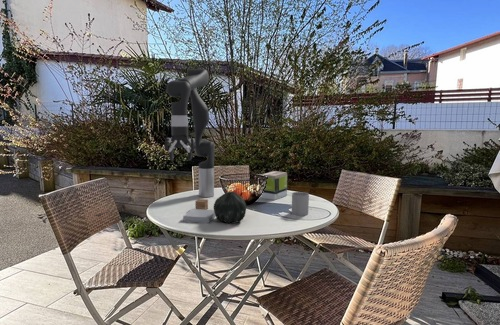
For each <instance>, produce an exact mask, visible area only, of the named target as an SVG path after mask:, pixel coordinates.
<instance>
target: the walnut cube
mask: <svg viewBox="0 0 500 325" xmlns="http://www.w3.org/2000/svg"><path fill="white" fill-rule="evenodd" d="M194 209H203V210H209V200H208V199H207V198H206V199H205V198H198V199H197V200H195V208H194Z"/></svg>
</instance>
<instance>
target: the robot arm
mask: <svg viewBox="0 0 500 325" xmlns="http://www.w3.org/2000/svg"><path fill="white" fill-rule="evenodd" d="M209 79H210V75H209V73H208V70H207V69H205V68H189V69H188V70H187V72H186V76H184V77H182V78H181V79H175V80H173V79H172V80H171V81H169V82H168V83H167V86H166V93H167V94H168V96H170V97H173V98H180V99H179V101H175V102H172V103H171V108H170V109H171V119H170V120H171V121H170V125H171V126H170V127H171V137H165V139H164V151H166V152H168V157H169V159H170V161H173V160H174V159H175V157H174V155H175V154H174V150H175V149H176V148H184V149H185V150H186V152H187V161H188V162H189V161H191V160H192V158H193V152H195V153H196V155H197V156H198V157H205V158H206V157H207V159H206V160H204V161H201V162H199V163H198V196H199V197H202V198H210V197H214V196H215V148H216V147H215V143H214V141H210V140H209V141H206V140H205V141H203V138H202V137H203V133H204V131H205V130H206V128H207V126H208V125H209V122H210V113H209V107H208V105H207V104H206V103H205V102H204V100H203V99H202V98H201V96H200V95H199V93H198V90H197V88H200V87H206V86H207V85H208V84H209V81H210V80H209ZM189 99H190V104H191V113H192V122H193V129H194V138H193V137H192V138H189V119H188V106H189V104H188V103H189ZM171 142H172V144H171ZM189 143H190V145H189ZM170 145H171V146H170Z"/></svg>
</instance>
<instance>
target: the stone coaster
mask: <svg viewBox="0 0 500 325" xmlns="http://www.w3.org/2000/svg"><path fill="white" fill-rule="evenodd" d="M215 217H216V215H215V212H214V209H207V210H203V209H196V208H192V209H191V210H189V211H188V212H187V213H186V214H184V215H183V222H186V223H187V222H188V223H189V222H190V223H200V224H201V223H203V224H210V222H212V221H213V219H215Z"/></svg>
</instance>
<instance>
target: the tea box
mask: <svg viewBox="0 0 500 325" xmlns="http://www.w3.org/2000/svg"><path fill="white" fill-rule="evenodd" d="M261 175H264V176H267V177H268V179H267V184H266V188H265V190H264V192H263V194H262V195H261V194H260V195H261V196H260V198H262V199H266V200H271V201H276V200H278V199H280V198H283V197H286V196H288V172H286V171H285V172H284V171H275V170H273V171H269V172H266V173H261V174H260V176H261Z"/></svg>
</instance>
